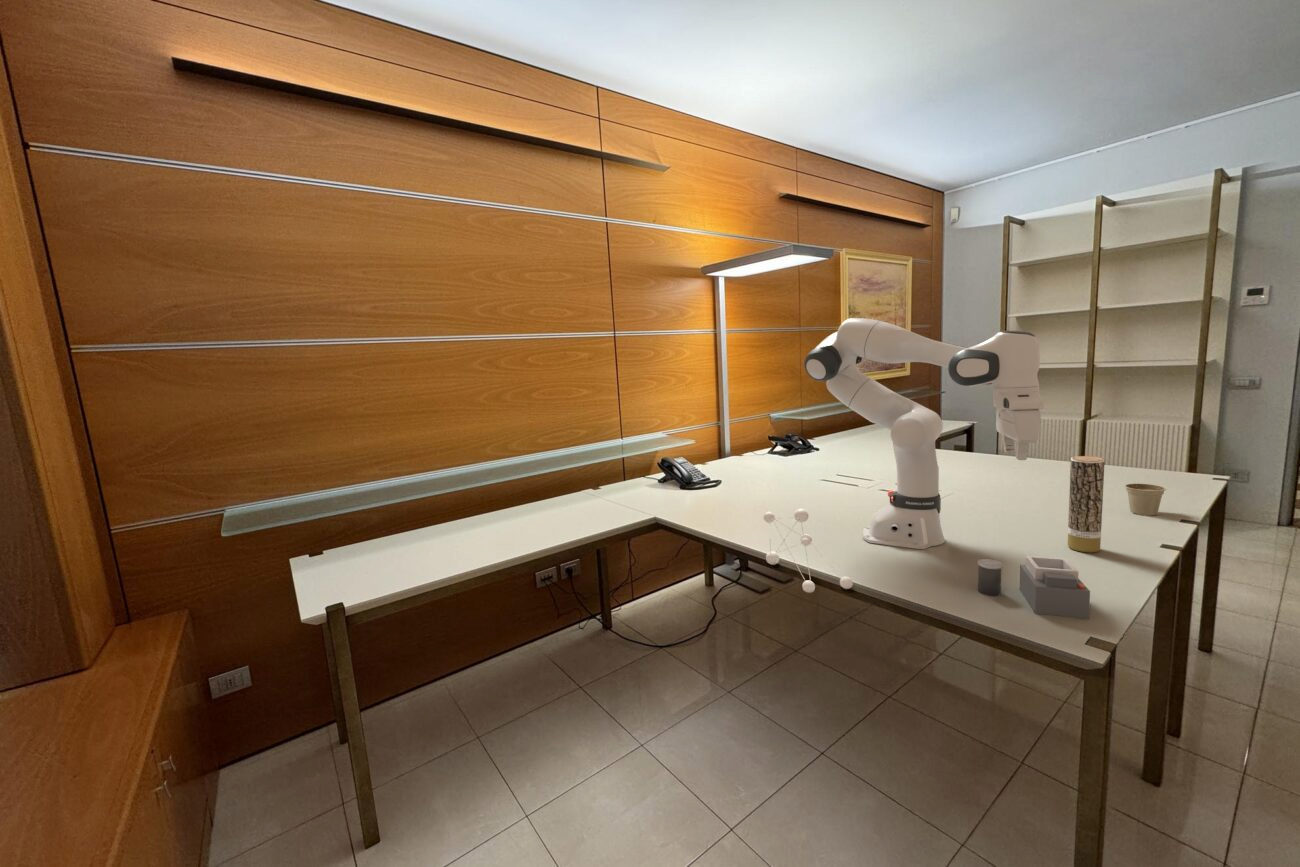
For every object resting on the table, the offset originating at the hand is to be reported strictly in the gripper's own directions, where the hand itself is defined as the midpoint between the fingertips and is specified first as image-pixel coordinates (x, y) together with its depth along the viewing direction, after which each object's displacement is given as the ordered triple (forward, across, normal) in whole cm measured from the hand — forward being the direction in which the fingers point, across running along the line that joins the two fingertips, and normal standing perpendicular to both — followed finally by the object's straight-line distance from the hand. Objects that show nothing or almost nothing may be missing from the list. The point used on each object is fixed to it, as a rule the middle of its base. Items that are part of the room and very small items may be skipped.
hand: (1015, 456), depth 122 cm
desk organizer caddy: (+30, +15, +3) cm, 34 cm away
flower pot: (+30, -59, +49) cm, 82 cm away
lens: (+30, +12, -8) cm, 33 cm away
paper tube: (+30, -21, +21) cm, 42 cm away
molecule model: (+30, +12, -50) cm, 59 cm away
